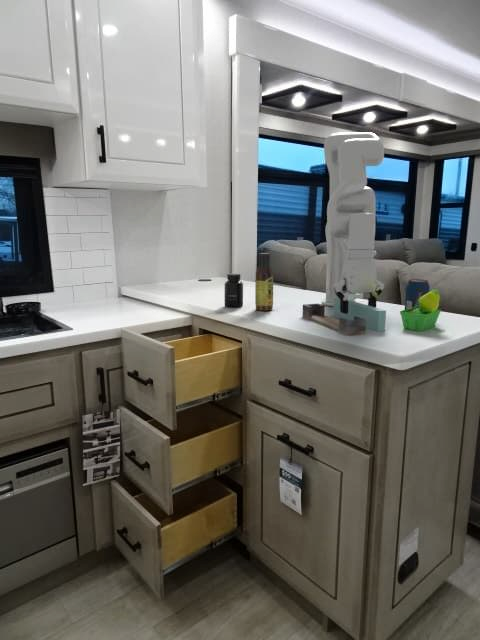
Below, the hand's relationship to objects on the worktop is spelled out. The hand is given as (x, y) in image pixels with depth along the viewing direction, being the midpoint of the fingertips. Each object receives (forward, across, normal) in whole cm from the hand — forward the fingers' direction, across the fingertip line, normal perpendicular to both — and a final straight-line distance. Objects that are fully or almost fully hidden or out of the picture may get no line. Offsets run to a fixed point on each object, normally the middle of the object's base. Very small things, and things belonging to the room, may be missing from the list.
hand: (358, 312), depth 136 cm
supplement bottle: (+3, +27, -40) cm, 48 cm away
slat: (+4, 0, -1) cm, 4 cm away
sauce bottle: (+3, +19, -30) cm, 35 cm away
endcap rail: (+3, +9, -1) cm, 9 cm away
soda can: (+3, -21, 0) cm, 21 cm away
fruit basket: (+4, -13, +12) cm, 18 cm away
